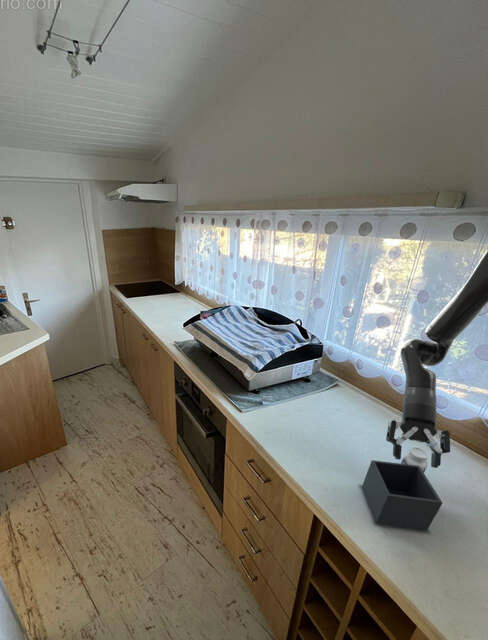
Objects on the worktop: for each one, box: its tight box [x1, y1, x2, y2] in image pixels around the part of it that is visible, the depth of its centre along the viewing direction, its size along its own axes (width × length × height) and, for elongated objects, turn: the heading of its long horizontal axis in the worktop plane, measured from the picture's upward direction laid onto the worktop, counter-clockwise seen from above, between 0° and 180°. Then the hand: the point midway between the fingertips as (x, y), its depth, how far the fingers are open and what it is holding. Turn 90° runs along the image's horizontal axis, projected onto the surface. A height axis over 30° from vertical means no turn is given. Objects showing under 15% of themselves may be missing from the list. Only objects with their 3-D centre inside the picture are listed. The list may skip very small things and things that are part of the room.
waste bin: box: [361, 459, 443, 532], centre depth 76 cm, size 11×11×10 cm
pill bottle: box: [400, 447, 429, 474], centre depth 84 cm, size 5×5×10 cm
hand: (415, 463), depth 83 cm, fingers open, 8 cm apart
